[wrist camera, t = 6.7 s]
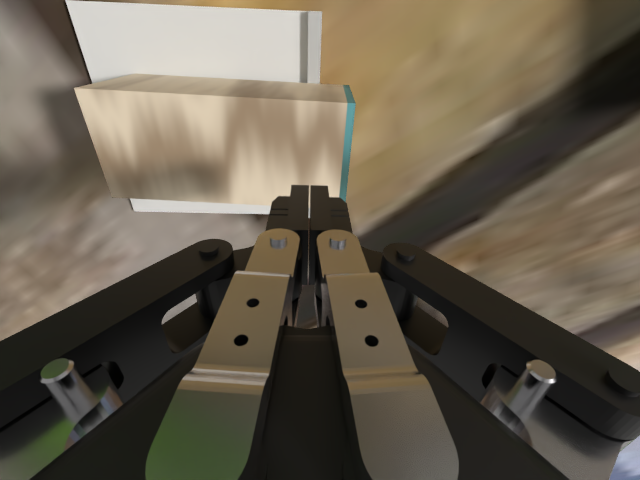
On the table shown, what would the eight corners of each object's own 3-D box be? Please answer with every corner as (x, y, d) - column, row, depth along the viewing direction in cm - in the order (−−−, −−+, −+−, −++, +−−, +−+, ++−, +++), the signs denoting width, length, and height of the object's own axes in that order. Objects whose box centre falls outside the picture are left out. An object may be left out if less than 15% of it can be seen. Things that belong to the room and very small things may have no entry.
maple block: (348, 85, 21) (134, 73, 21) (355, 103, 16) (73, 87, 16) (341, 172, 24) (156, 162, 24) (344, 209, 19) (111, 197, 19)
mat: (68, 0, 19) (59, -1, 18) (321, 12, 19) (322, 11, 19) (135, 209, 27) (131, 214, 26) (315, 213, 27) (315, 218, 27)
